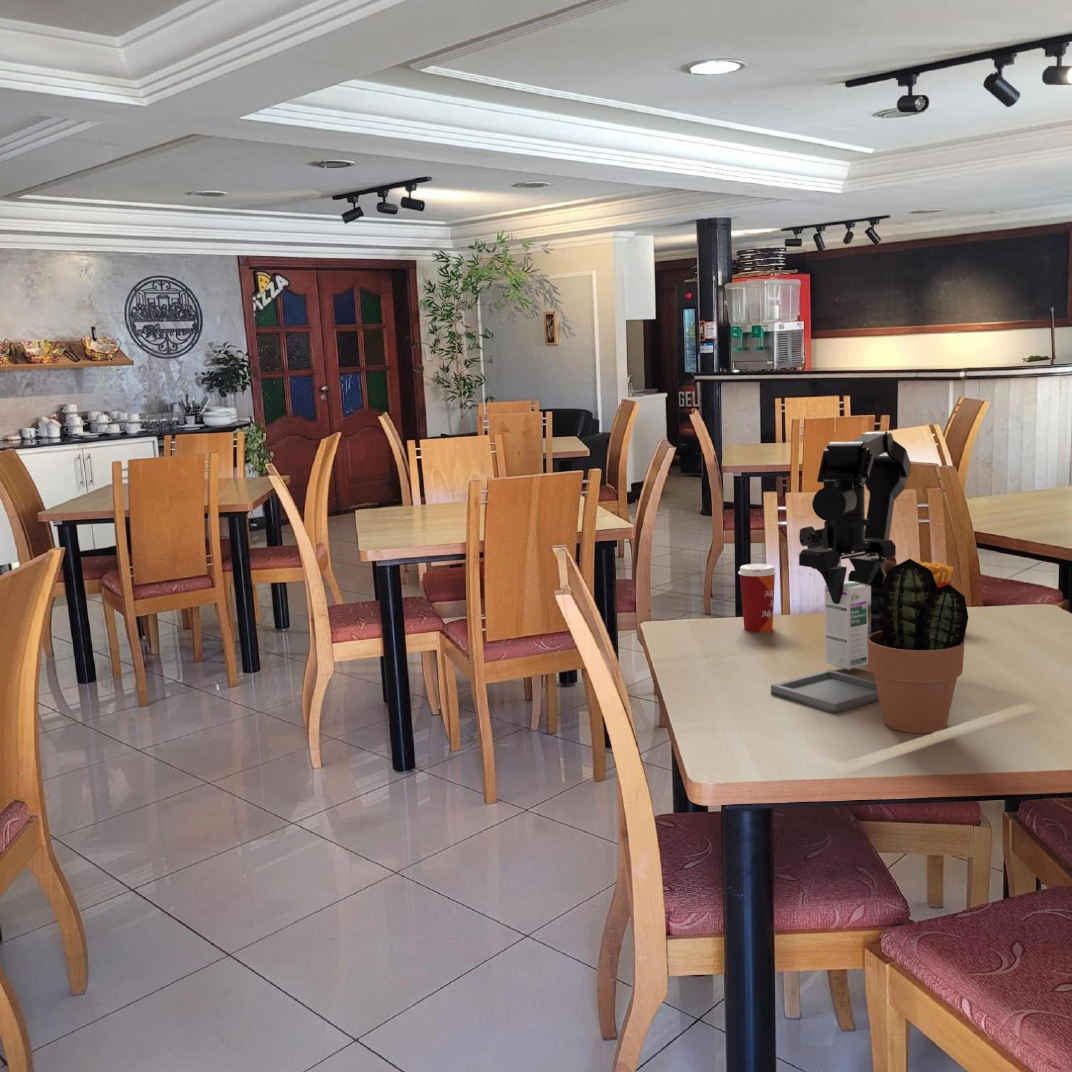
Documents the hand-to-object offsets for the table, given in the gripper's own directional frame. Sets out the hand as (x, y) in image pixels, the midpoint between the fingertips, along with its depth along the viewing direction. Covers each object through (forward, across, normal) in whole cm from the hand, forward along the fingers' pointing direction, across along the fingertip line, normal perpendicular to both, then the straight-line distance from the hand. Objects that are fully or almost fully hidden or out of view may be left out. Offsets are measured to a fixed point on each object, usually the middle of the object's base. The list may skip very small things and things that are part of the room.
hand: (848, 601), depth 187 cm
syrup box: (+12, 0, 0) cm, 12 cm away
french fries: (+12, -37, -12) cm, 41 cm away
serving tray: (+13, +13, +8) cm, 20 cm away
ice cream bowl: (+13, -33, -21) cm, 41 cm away
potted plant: (+13, +15, +26) cm, 33 cm away
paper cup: (+13, -8, -31) cm, 35 cm away
